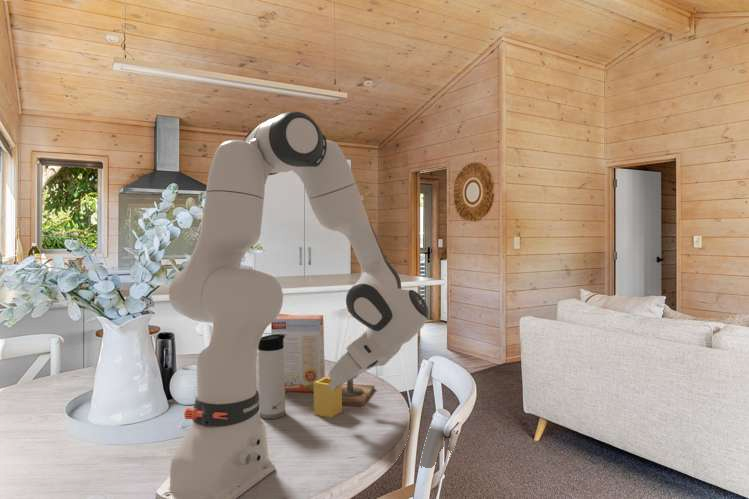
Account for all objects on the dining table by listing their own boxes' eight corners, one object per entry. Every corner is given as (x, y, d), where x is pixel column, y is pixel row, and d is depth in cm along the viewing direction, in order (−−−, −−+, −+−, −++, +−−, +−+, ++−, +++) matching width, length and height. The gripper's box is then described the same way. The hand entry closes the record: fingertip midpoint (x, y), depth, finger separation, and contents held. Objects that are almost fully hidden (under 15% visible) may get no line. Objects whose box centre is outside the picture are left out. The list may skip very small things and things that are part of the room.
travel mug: (280, 420, 126) (279, 337, 124) (255, 418, 127) (253, 337, 126) (290, 410, 132) (288, 332, 131) (265, 409, 133) (263, 331, 132)
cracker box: (325, 386, 151) (324, 314, 150) (321, 392, 145) (320, 318, 144) (278, 385, 153) (276, 314, 152) (272, 391, 147) (270, 317, 146)
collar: (331, 417, 127) (330, 385, 126) (314, 414, 129) (313, 382, 129) (342, 411, 131) (341, 379, 131) (325, 407, 134) (324, 376, 133)
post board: (361, 406, 134) (361, 363, 134) (324, 403, 137) (323, 361, 136) (374, 388, 148) (373, 350, 147) (340, 386, 150) (339, 348, 150)
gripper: (388, 327, 133) (355, 360, 138) (345, 345, 115) (310, 383, 120) (404, 346, 131) (370, 379, 136) (363, 367, 113) (327, 405, 118)
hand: (342, 381), depth 128 cm, fingers open, 8 cm apart
